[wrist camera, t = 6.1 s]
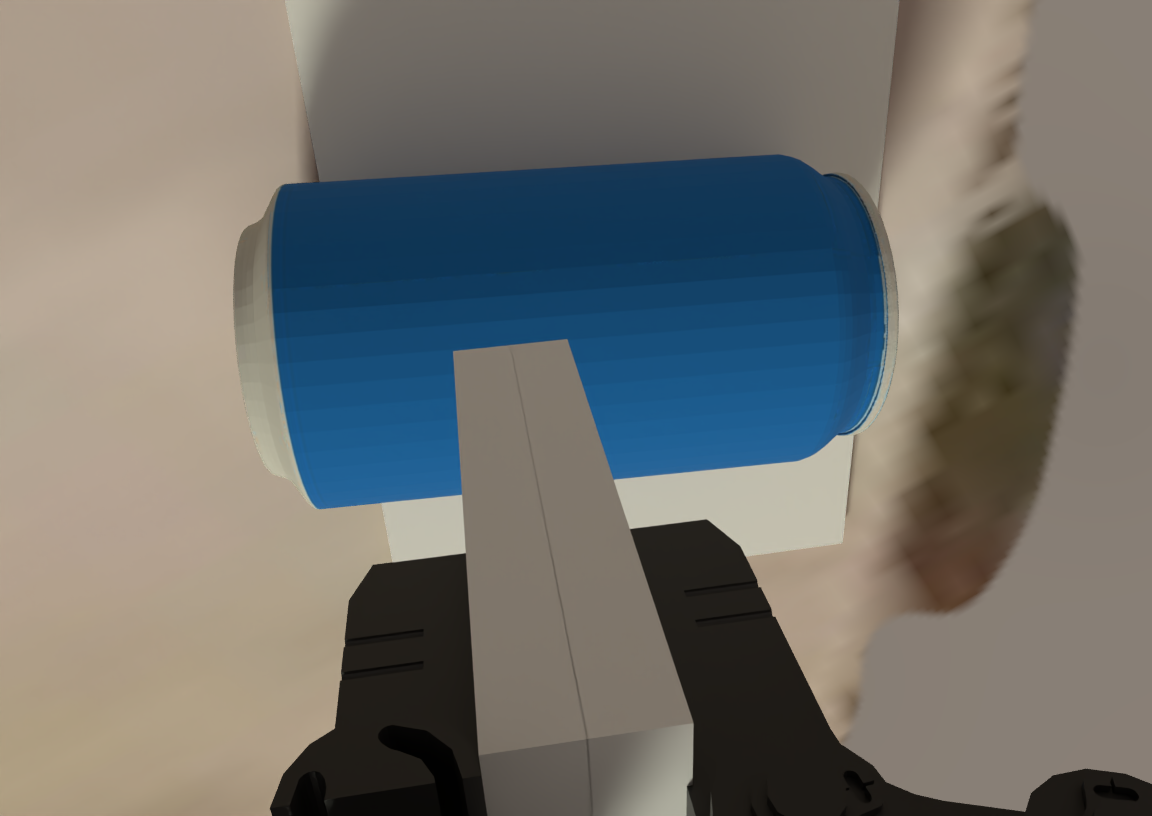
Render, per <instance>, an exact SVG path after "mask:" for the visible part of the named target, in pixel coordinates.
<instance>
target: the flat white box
mask: <svg viewBox="0 0 1152 816" xmlns="http://www.w3.org/2000/svg"><path fill="white" fill-rule="evenodd" d="M899 1H900V0H285V4H286V9H287V14H288V19H289V25H290V30H291V35H292V40H293V45H294V51H295V56H296V61H297V66H298V72H299V77H300V82H301V87H302V92H303V98H304V103H305V108H306V113H307V118H308V124H309V129H310V134H311V139H312V145H313V150H314V155H315V160H316V165H317V171H318V176H319V181H320V182H329V181H346V180H362V179H379V178H395V177H412V176H428V175H445V174H461V173H478V172H494V171H511V170H527V169H544V168H560V167H577V166H593V165H610V164H626V163H643V162H659V161H676V160H692V159H709V158H725V157H742V156H758V155H775V154H780V155H785V156H790V157H794V158H796V159H799V160H801V161H802V162H804V163H806V164H807V165H809V166H811V167H812V168H814V169H815V170H816V171H817V172H819V173H820V174H822V175H823V174H827V173H835V172H839V173H844V174H848V175H850V176H852V177H853V178H855V179H856V180H857V181H858V182H859V183H860V184H862V185H863V187H864V188H865V189H866V191H867V192H868V193H869V195H870V196H871V198H872V200H873V202H874V203H875V205H876V207H877V209H878V201H879V191H880V182H881V172H882V163H883V153H884V144H885V134H886V125H887V115H888V106H889V96H890V87H891V77H892V68H893V58H894V49H895V39H896V30H897V20H898V11H899ZM853 439H854V435H850V436H838V435H836V436H835V437H834V438H833V439H832V440H831V441H830V442H829V443H828V444H827V445H826V446H825V447H823V448H822V449H821V450H820V451H818V452H817V453H816V454H814V455H812V456H810V457H808V458H805V459H802V460H800V461H795V462H785V463H775V464H765V465H755V466H745V467H735V468H725V469H715V470H705V471H695V472H685V473H675V474H665V475H655V476H645V477H635V478H625V479H615V480H614V483H615V486H616V489H617V492H618V495H619V498H620V501H621V504H622V507H623V510H624V513H625V516H626V519H627V522H628V525H629V528H630V529H634V528H642V527H649V526H657V525H665V524H673V523H681V522H689V521H697V520H704V519H707V520H709V521H710V522H711V523H712V524H714V525H715V526H716V527H717V528H719V529H720V530H721V531H722V532H724V533H725V534H726V535H727V536H728V537H730V538H731V539H732V540H733V541H735V542H736V543H737V544H738V545H740V546H741V548H742V550H743V552H744V555H745V557H746V556H753V555H761V554H768V553H775V552H782V551H789V550H797V549H804V548H811V547H818V546H826V545H833V544H840V543H843V534H844V524H845V515H846V505H847V496H848V486H849V477H850V467H851V458H852V448H853ZM381 504H382V510H383V515H384V520H385V525H386V531H387V536H388V541H389V546H390V551H391V557H392V562H400V561H408V560H416V559H424V558H431V557H439V556H447V555H455V554H463V553H466V548H465V532H464V516H463V501H462V495H456V496H446V497H436V498H426V499H416V500H406V501H396V502H386V503H381Z"/></svg>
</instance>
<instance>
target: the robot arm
mask: <svg viewBox="0 0 1152 816" xmlns="http://www.w3.org/2000/svg"><path fill="white" fill-rule="evenodd" d="M453 359H454V375H455V390H456V406H457V422H458V438H459V453H460V469H461V485H462V501H463V516H464V532H465V548H466V553H463V554H455V555H447V556H439V557H431V558H424V559H416V560H408V561H400V562H392V563H384V564H377V565H373V566H372V567H371V569H370V570H369V572H368V573H367V575H366V576H365V578H364V579H363V581H362V582H361V583H360V585H359V586H358V588H357V589H356V591H355V592H354V594H353V595H352V597H351V598H350V600H349V605H348V614H347V623H346V632H345V647H344V651H343V660H342V669H341V674H342V681H340V687H339V697H338V706H337V715H336V724H335V729H334V730H332V731H330V732H329V733H327V734H326V735H324V736H322V737H321V738H319V739H318V740H316V741H314V742H313V743H311V744H310V745H309V746H308V747H307V748H306V749H305V750H304V751H303V752H302V754H301V755H300V756H299V757H298V758H297V759H296V760H295V761H294V763H293V764H292V765H291V766H290V767H289V768H288V769H287V770H286V772H285V773H284V774H283V776H282V779H281V781H280V784H279V786H278V789H277V792H276V794H275V797H274V799H273V802H272V804H271V807H270V810H271V813H272V816H1152V784H1150V783H1148V782H1145V781H1142V780H1140V779H1137V778H1135V777H1132V776H1130V775H1127V774H1123V773H1115V772H1107V771H1099V770H1091V769H1083V770H1078V771H1073V772H1068V773H1063V774H1058V775H1053V776H1052V777H1051V778H1050V779H1048V780H1047V781H1046V782H1044V783H1043V784H1042V785H1041V786H1040V787H1038V788H1037V789H1036V790H1034V791H1033V792H1032V793H1031V795H1030V799H1029V802H1028V805H1027V808H1026V812H1022V811H1015V810H1006V809H999V808H992V807H985V806H977V805H970V804H962V803H955V802H947V801H942V800H937V799H933V798H929V797H924V796H920V795H916V794H913V793H910V792H908V791H905V790H903V789H901V788H898V787H896V786H894V785H891V784H889V783H886V782H885V780H884V779H883V778H882V777H881V775H880V774H879V773H878V772H877V770H876V769H875V768H874V766H873V765H871V764H870V763H868V762H867V761H865V760H864V759H862V758H861V757H859V756H858V755H856V754H855V753H853V752H852V751H850V750H849V749H847V748H846V747H844V746H843V745H841V744H840V743H839V741H838V740H837V738H836V737H835V735H834V734H833V732H832V730H831V729H830V727H829V725H828V723H827V721H826V719H825V717H824V715H823V713H822V711H821V709H820V707H819V705H818V703H817V701H816V699H815V697H814V695H813V693H812V690H811V688H810V686H809V684H808V682H807V680H806V678H805V676H804V674H803V672H802V670H801V668H800V666H799V664H798V662H797V660H796V658H795V656H794V654H793V652H792V650H791V648H790V646H789V644H788V642H787V640H786V638H785V636H784V634H783V632H782V630H781V628H780V626H779V624H778V621H777V619H776V617H773V616H772V610H771V607H770V605H769V603H768V601H767V599H766V597H765V595H764V593H763V591H762V589H761V587H758V584H757V579H756V577H755V575H754V573H753V571H752V569H751V567H750V565H749V563H748V561H747V559H746V557H745V555H744V552H743V550H742V548H741V546H740V545H738V544H737V543H736V542H735V541H733V540H732V539H731V538H730V537H728V536H727V535H726V534H725V533H724V532H722V531H721V530H720V529H719V528H717V527H716V526H715V525H714V524H712V523H711V522H710V521H709V520H707V519H704V520H697V521H689V522H681V523H673V524H665V525H657V526H649V527H642V528H634V529H630V528H629V525H628V522H627V519H626V516H625V513H624V510H623V507H622V504H621V501H620V498H619V495H618V492H617V489H616V486H615V483H614V480H613V477H612V474H611V471H610V467H609V464H608V461H607V458H606V455H605V452H604V449H603V446H602V443H601V440H600V437H599V434H598V431H597V428H596V425H595V422H594V419H593V416H592V413H591V410H590V407H589V404H588V401H587V398H586V394H585V391H584V388H583V385H582V382H581V379H580V376H579V373H578V370H577V367H576V364H575V361H574V358H573V355H572V352H571V349H570V346H569V343H568V340H567V339H564V340H554V341H545V342H535V343H526V344H516V345H507V346H497V347H488V348H478V349H469V350H459V351H453Z"/></svg>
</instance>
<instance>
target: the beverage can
mask: <svg viewBox="0 0 1152 816" xmlns="http://www.w3.org/2000/svg"><path fill="white" fill-rule="evenodd" d="M233 307H234V329H235V341H236V351H237V360H238V368H239V375H240V382H241V387H242V393H243V399H244V403H245V408H246V413H247V417H248V421H249V425H250V429H251V432H252V435H253V438H254V442H255V445H256V447H257V450H258V453H259V455H260V457H261V459H262V461H263V463H264V465H265V466H266V468H267V469H268V470H269V471H270V472H271V473H272V474H274V475H276V476H279V477H283V478H286V479H288V480H290V481H291V482H292V483H293V484H294V485H295V487H296V488H297V489H298V491H299V492H300V493H301V495H302V496H303V497H304V499H305V500H306V501H307V502H308V503H309V505H311V506H312V507H314V508H316V509H326V508H336V507H346V506H356V505H366V504H376V503H386V502H396V501H406V500H416V499H426V498H436V497H446V496H456V495H462V485H461V469H460V453H459V438H458V422H457V406H456V390H455V375H454V359H453V351H459V350H469V349H478V348H488V347H497V346H507V345H516V344H526V343H535V342H545V341H554V340H564V339H567V340H568V343H569V346H570V349H571V352H572V355H573V358H574V361H575V364H576V367H577V370H578V373H579V376H580V379H581V382H582V385H583V388H584V391H585V394H586V398H587V401H588V404H589V407H590V410H591V413H592V416H593V419H594V422H595V425H596V428H597V431H598V434H599V437H600V440H601V443H602V446H603V449H604V452H605V455H606V458H607V461H608V464H609V467H610V471H611V474H612V477H613V480H615V479H625V478H635V477H645V476H655V475H665V474H675V473H685V472H695V471H705V470H715V469H725V468H735V467H745V466H755V465H765V464H775V463H785V462H795V461H800V460H802V459H805V458H808V457H810V456H812V455H814V454H816V453H817V452H818V451H820V450H821V449H822V448H823V447H825V446H826V445H827V444H828V443H829V442H830V441H831V440H832V439H833V438H834V437H835V436H836V435H838V436H850V435H856V434H858V433H861V432H863V431H864V430H865V429H867V428H868V427H869V426H870V425H871V424H872V423H873V421H874V420H875V419H876V417H877V416H878V414H879V412H880V411H881V409H882V407H883V404H884V402H885V400H886V397H887V394H888V391H889V388H890V385H891V381H892V376H893V372H894V367H895V360H896V353H897V343H898V321H899V310H898V291H897V282H896V274H895V268H894V262H893V256H892V252H891V248H890V244H889V240H888V236H887V233H886V230H885V227H884V224H883V221H882V219H881V216H880V214H879V212H878V209H877V207H876V205H875V203H874V202H873V200H872V198H871V196H870V195H869V193H868V192H867V191H866V189H865V188H864V187H863V185H862V184H860V183H859V182H858V181H857V180H856V179H855V178H853V177H852V176H850V175H848V174H844V173H839V172H835V173H827V174H823V175H822V174H820V173H819V172H817V171H816V170H815V169H814V168H812V167H811V166H809V165H807V164H806V163H804V162H802V161H801V160H799V159H796V158H794V157H790V156H785V155H780V154H775V155H758V156H742V157H725V158H709V159H692V160H676V161H659V162H643V163H626V164H610V165H593V166H577V167H560V168H544V169H527V170H511V171H494V172H478V173H461V174H445V175H428V176H412V177H395V178H379V179H362V180H346V181H329V182H313V183H296V184H284V185H282V186H280V187H279V188H278V189H277V190H276V192H275V193H274V195H273V197H272V199H271V201H270V203H269V206H268V208H267V210H266V212H265V214H264V216H263V218H262V219H261V220H260V221H258V222H257V223H255V224H252V225H250V226H248V227H247V228H246V229H244V231H243V233H242V234H241V237H240V240H239V243H238V247H237V251H236V259H235V268H234V287H233Z"/></svg>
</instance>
